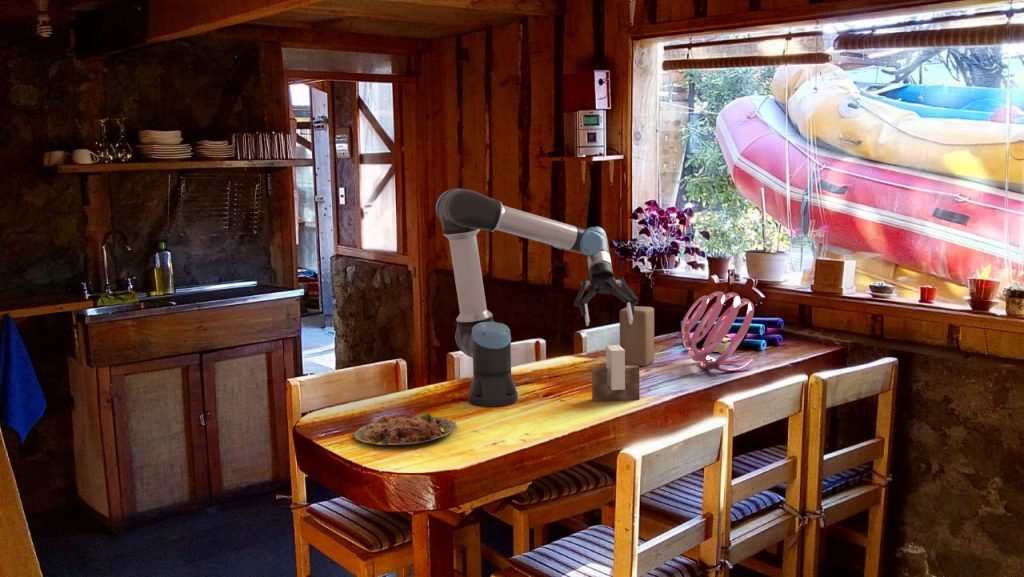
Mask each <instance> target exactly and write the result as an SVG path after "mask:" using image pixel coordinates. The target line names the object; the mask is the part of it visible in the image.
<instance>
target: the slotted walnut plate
mask: <svg viewBox="0 0 1024 577" xmlns="http://www.w3.org/2000/svg"><path fill="white" fill-rule="evenodd" d="M640 382H641V381H640V366H637V365H625V389H624V390H611V388H610V387H609V386H608V369H607V368H606V366H592V367H591V388H592V389H591V391H592V392H591V398H592V399H591V400H592V401H593V402H594V403H595V402H596V403H597V402H616V401H617V402H618V401H620V402H621V401H637V400H640V393H641V392H640V389H641V387H640Z"/></svg>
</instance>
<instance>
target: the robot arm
mask: <svg viewBox="0 0 1024 577" xmlns="http://www.w3.org/2000/svg"><path fill="white" fill-rule="evenodd" d="M435 212H436V213H435V214H436V216H437V218H438V220H439V221H440V222H441V227H442V229H441V230H442V234H443V236H444V237H445V238H447V240H448V242H449V247H450V248H449V250H450V254H451V263H452V268H453V275H454V276H453V277H454V281H455V288H456V295H457V301H458V310H459V315H458V316H457V317H456V319H455V321H456V331H455V333H454V334H455V336H454V337H455V342H456V345H457V347H458V349H459V350H460V351H461V352H462V353H463V354H464V355H466V356H467V357H470V358H472V369H473V370H472V371H473V372H472V374H473V376H472V380H471V384H470V387H469V390H468V396H467V398H468V403H469V404H471V405H475V406H478V407H501V406H503V407H505V406H508V405H512V404H514V403H516V402H517V401H518V400H519V399H518V398H519V397H518V391H517V388H516V385H515V382H514V378H513V375H512V347H511V346H512V342H511V341H512V337H511V336H512V335H511V329H510V327H509V326H508V325H506V324H505V323H501V322H496V321H494V316H493V313H492V312H491V311H490V310H488V309H487V301H486V294H485V287H484V282H483V273H482V267H481V262H480V261H481V259H480V254H479V245H478V239H477V235H478V233H479V232H480V231H481V230H482V231H483V230H484V231H487V232H491V233H492V232H494V231H500V232H503V233H508V234H511V235H515V236H518V237H522V238H525V239H529V240H532V241H535V242H539V243H543V244H546V245H550V246H552V247H553V248H556V249H559V250H562V251H568V252H572V253H578V254H581V255H585V256H586V260H587V266H588V267H587V268H588V270H589V271H588V272H589V279H590V280H587V279H586V278H582V279H581V286H580V288H579V290H578V293H577V295H576V296H575V298H574V302H573V306H574V307H575V308H576V307H578V308H579V309H580V314H581V316H582V317H584V321H585V326H586V327H588V326H590V315H589V307H588V303H589V302H590V300H591V299H593V297H595V295H596V294H598V293H599V294H598V295H600V294H601V295H602V294H609V293H610V294H612V295H613V296H615V297H617V299H619V300H621V301H622V303H624V304H625V305H626V307H625V308H627V314H628V319H629V324H632V322H633V315H632V314H634V311H635V309H634V306H638V303H639V298H638V296H637V295H636V293H634V291H633V290H632V289H631V288H630V287H629V285H628V284H627V283H626V280H625V278H624V277H621V278H620V279H616V278H615V277H614V270H613V267H612V266H613V264H612V259H611V254H610V248H609V240H608V237H607V234H606V230H604V228H602V227H600V226H591V227H588V228H587V229H585V228H582V227H578V226H574V225H573V224H568V223H564V222H562V221H558V220H554V219H550V218H548V217H544V216H540V215H537V214H535V213H530V212H527V211H523V210H519V209H517V208H512V207H509V206H507V205H503V203H502V201H500V200H499V199H498V200H497V199H494V198H492V197H490V196H487V195H484V194H482V193H480V192H478V191H475V190H473V189H472V190H471V189H465V188H464V189H463V188H451V189H448V190H446V191H444V192H443V193H442V194H441V195H440V196H439V197H438V199H437V201H436V204H435ZM617 285H618V286H617ZM588 287H591V289H590V290H589V292H588V293H587V294H586V295H585V296H584V297H583V295H584V293H585V290H586V289H587V288H588ZM582 297H583V298H582Z"/></svg>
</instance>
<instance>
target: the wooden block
mask: <svg viewBox="0 0 1024 577" xmlns="http://www.w3.org/2000/svg"><path fill="white" fill-rule="evenodd" d="M634 309H635V311H634V314H632V315H633V322H632V324H629V319H628V314H627V308H626V307H624V308H622V309H620V310H619V345H620V346H621V347H622V348H623V349H624V350H625V366H628V365H637V366H639V367H647V366H648V365H650V364H652V363H653V362H654V361H655V308H654V307H652V306H638V305H634Z"/></svg>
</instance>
